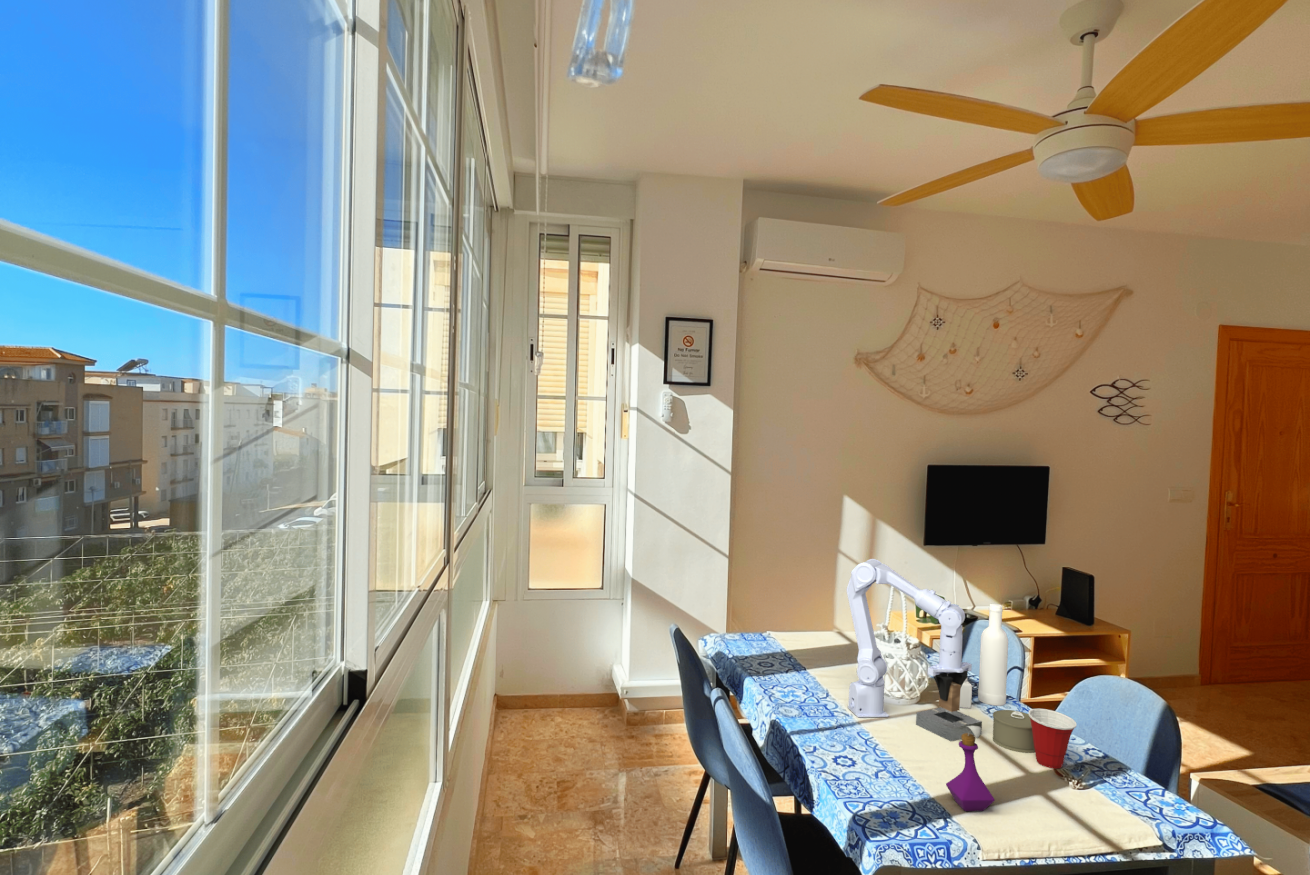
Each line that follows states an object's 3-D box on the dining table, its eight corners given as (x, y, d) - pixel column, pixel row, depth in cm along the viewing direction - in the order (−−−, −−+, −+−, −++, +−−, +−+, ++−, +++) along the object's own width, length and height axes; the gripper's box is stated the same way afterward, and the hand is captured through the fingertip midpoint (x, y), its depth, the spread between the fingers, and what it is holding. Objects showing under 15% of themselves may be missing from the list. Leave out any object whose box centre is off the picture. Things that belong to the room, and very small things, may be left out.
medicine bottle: (963, 700, 231) (965, 661, 231) (971, 708, 224) (973, 669, 224) (940, 698, 232) (941, 660, 232) (946, 707, 225) (948, 667, 224)
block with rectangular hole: (950, 741, 199) (951, 727, 199) (915, 724, 210) (916, 711, 210) (981, 734, 205) (981, 720, 205) (945, 718, 215) (946, 705, 215)
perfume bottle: (944, 798, 168) (948, 718, 167) (976, 797, 168) (980, 718, 168) (961, 815, 160) (964, 731, 160) (994, 815, 161) (998, 732, 161)
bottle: (1010, 706, 227) (1014, 608, 227) (984, 705, 227) (988, 607, 227) (998, 697, 235) (1003, 602, 235) (973, 696, 235) (977, 601, 235)
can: (991, 747, 197) (992, 721, 197) (992, 731, 207) (993, 706, 207) (1042, 757, 191) (1043, 730, 191) (1040, 740, 202) (1042, 715, 202)
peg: (951, 711, 203) (952, 685, 203) (938, 705, 207) (939, 680, 207) (959, 710, 204) (960, 684, 204) (946, 704, 209) (947, 679, 208)
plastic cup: (1056, 777, 180) (1058, 727, 180) (1016, 758, 190) (1018, 711, 190) (1084, 769, 185) (1086, 721, 185) (1044, 751, 195) (1046, 706, 195)
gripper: (942, 656, 199) (940, 707, 199) (981, 651, 205) (979, 700, 206) (922, 649, 206) (920, 698, 206) (960, 644, 212) (958, 692, 212)
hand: (948, 698), depth 206 cm, fingers closed on peg, 3 cm apart
